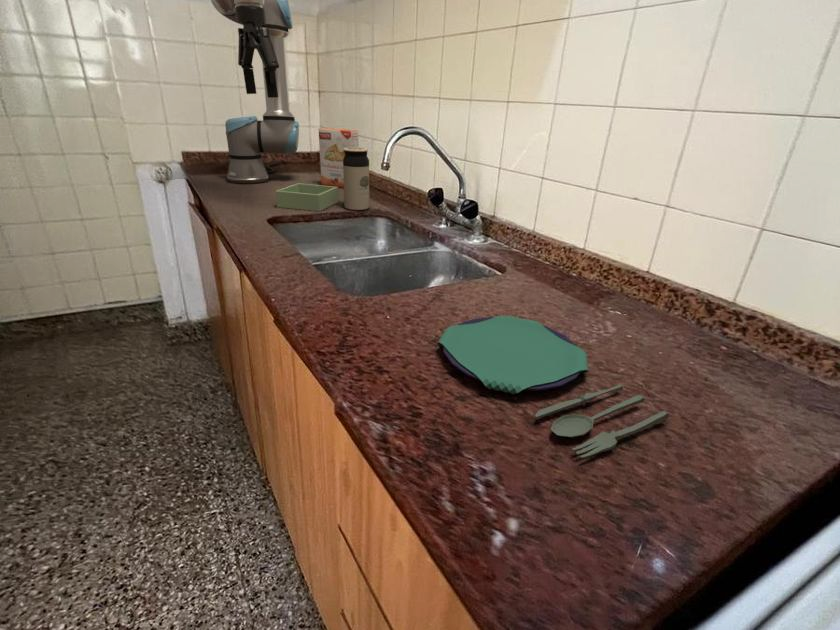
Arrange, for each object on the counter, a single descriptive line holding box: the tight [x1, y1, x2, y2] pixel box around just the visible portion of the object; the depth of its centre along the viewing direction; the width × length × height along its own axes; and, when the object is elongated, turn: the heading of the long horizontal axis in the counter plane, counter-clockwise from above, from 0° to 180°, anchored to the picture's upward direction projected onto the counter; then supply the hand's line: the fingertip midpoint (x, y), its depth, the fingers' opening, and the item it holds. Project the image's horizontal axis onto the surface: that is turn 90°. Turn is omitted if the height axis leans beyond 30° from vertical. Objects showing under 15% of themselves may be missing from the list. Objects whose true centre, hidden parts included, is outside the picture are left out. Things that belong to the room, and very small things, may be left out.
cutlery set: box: [437, 315, 670, 460], centre depth 60 cm, size 20×30×2 cm, turn 28°
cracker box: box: [318, 127, 360, 189], centre depth 171 cm, size 14×6×21 cm, turn 67°
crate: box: [274, 182, 340, 212], centre depth 145 cm, size 15×15×5 cm
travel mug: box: [343, 147, 370, 211], centre depth 141 cm, size 8×8×18 cm
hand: (261, 95), depth 129 cm, fingers open, 13 cm apart
